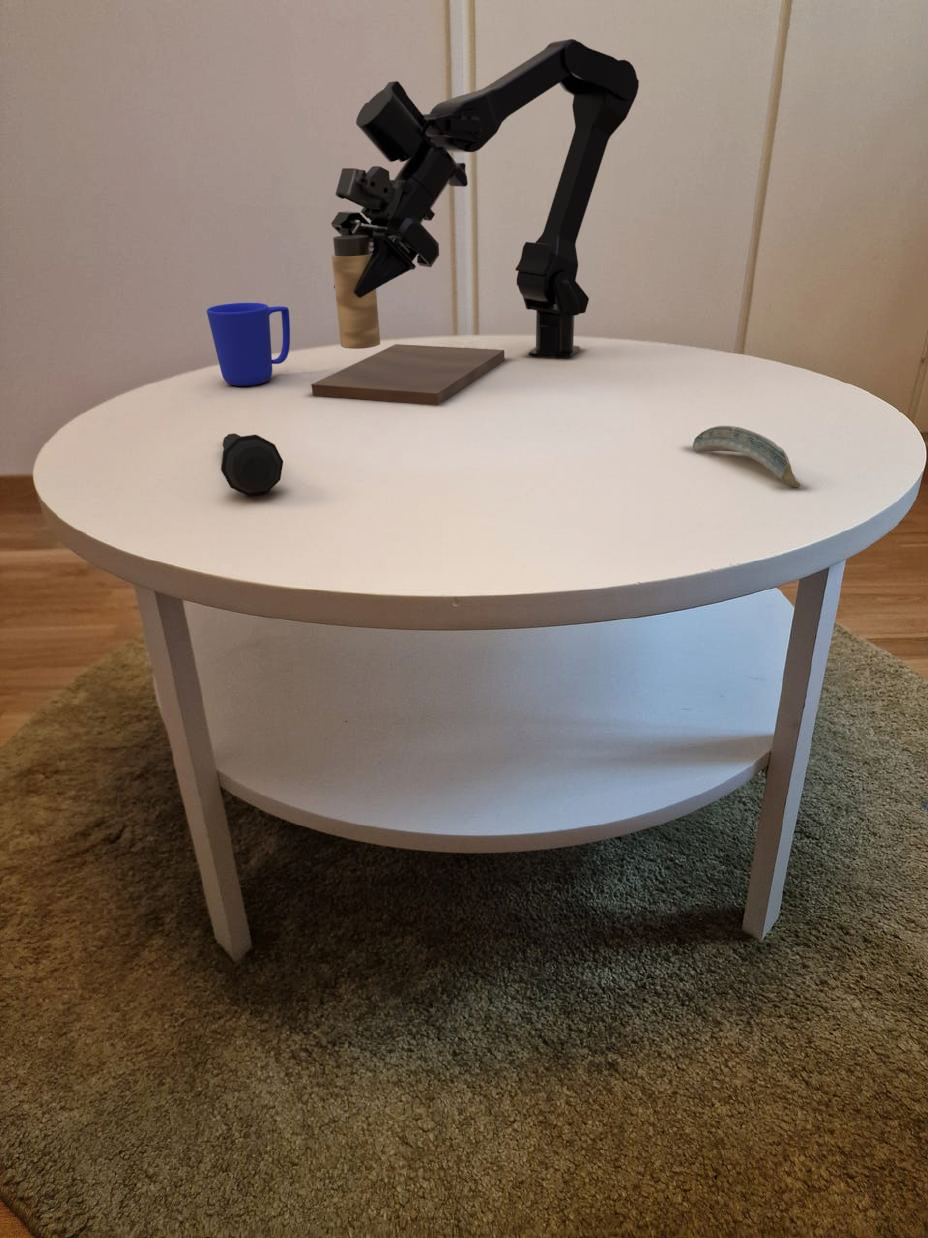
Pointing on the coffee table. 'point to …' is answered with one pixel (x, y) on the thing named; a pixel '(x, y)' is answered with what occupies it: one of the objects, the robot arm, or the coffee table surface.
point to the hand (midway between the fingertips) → (346, 292)
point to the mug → (246, 341)
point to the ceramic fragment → (747, 449)
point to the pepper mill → (353, 311)
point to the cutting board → (410, 374)
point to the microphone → (251, 464)
